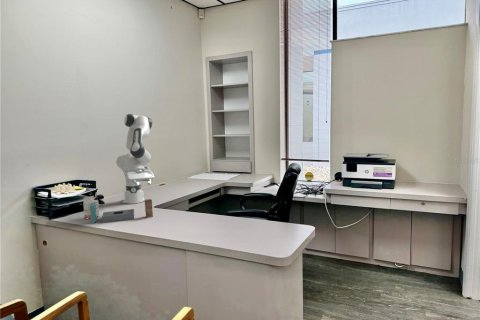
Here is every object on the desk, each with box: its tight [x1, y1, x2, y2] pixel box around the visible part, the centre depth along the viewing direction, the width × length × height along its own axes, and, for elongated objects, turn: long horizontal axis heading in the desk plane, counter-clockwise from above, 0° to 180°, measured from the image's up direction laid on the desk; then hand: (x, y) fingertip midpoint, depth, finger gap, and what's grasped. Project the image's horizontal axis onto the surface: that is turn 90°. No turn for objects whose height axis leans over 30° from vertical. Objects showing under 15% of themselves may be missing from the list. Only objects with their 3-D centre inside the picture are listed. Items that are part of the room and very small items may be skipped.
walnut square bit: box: [144, 198, 154, 218], centre depth 226 cm, size 4×4×12 cm
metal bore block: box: [101, 208, 135, 223], centre depth 224 cm, size 12×20×4 cm, turn 108°
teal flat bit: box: [90, 203, 98, 224], centre depth 218 cm, size 7×2×12 cm, turn 18°
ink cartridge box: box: [83, 195, 100, 220], centre depth 228 cm, size 9×5×15 cm, turn 149°
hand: (144, 184), depth 229 cm, fingers open, 8 cm apart
